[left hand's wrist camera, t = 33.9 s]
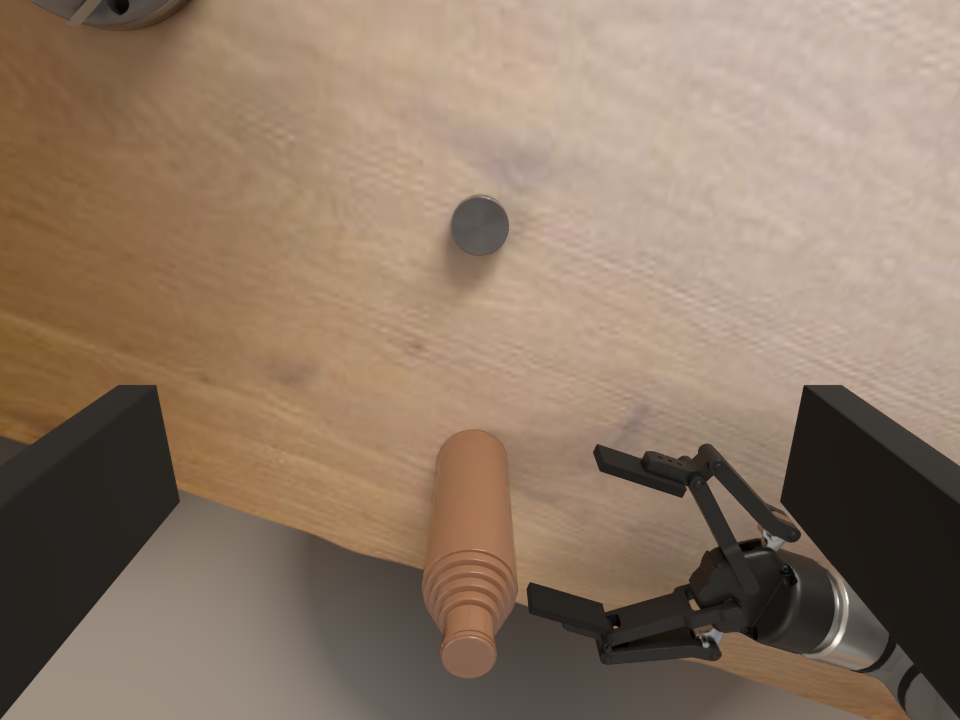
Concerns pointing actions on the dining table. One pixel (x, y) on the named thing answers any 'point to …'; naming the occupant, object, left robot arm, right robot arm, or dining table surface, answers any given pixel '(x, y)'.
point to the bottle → (470, 552)
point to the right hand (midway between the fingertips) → (561, 530)
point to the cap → (479, 225)
